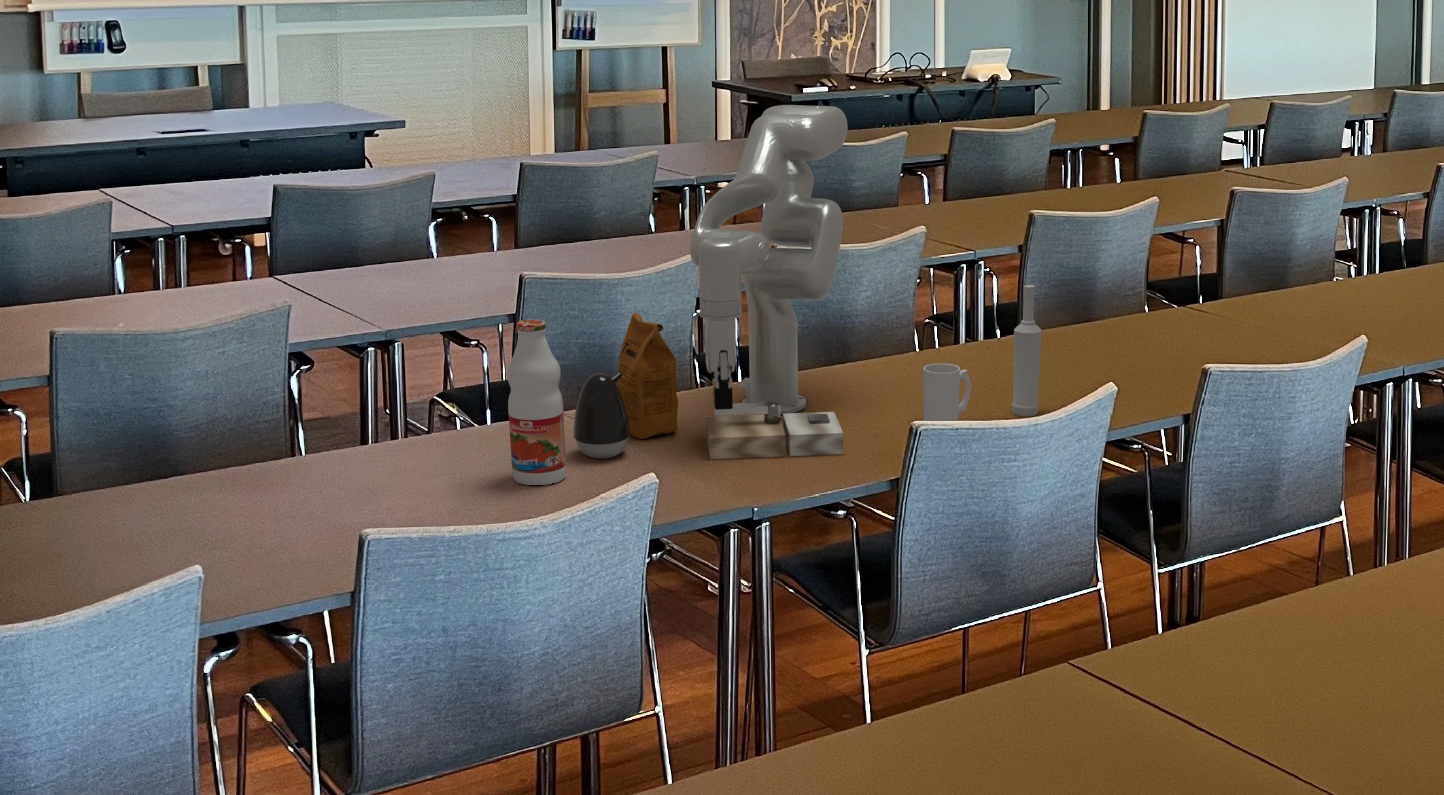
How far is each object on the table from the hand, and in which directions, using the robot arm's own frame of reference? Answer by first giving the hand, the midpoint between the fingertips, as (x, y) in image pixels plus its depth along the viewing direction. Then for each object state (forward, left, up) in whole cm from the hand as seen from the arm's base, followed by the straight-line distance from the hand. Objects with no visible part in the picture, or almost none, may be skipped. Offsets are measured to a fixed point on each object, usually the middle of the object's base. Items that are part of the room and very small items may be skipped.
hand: (722, 404), depth 303 cm
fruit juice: (-10, -35, -8) cm, 37 cm away
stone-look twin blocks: (+7, +6, -8) cm, 12 cm away
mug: (+24, +35, -8) cm, 43 cm away
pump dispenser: (-12, -19, -8) cm, 24 cm away
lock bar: (+3, +3, -3) cm, 6 cm away
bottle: (+28, +53, -8) cm, 61 cm away
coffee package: (-17, -4, -8) cm, 19 cm away
